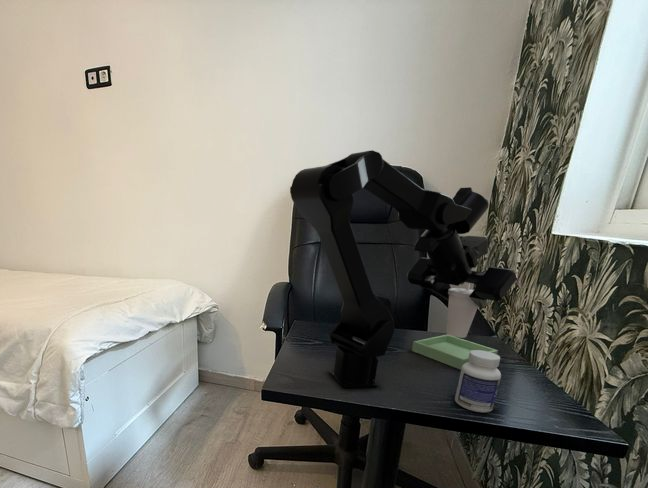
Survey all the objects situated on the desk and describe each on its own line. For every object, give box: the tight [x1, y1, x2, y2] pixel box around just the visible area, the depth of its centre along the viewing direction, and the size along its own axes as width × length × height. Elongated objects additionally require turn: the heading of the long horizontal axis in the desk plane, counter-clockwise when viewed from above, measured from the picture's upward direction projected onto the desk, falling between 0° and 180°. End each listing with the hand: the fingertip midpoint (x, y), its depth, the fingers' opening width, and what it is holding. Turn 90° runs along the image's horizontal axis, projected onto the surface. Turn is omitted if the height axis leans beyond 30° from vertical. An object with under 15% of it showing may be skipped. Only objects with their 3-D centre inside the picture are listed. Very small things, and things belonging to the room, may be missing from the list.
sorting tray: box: [411, 334, 499, 371], centre depth 78 cm, size 12×11×2 cm
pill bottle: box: [454, 350, 502, 413], centre depth 57 cm, size 5×5×9 cm
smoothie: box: [446, 269, 479, 339], centre depth 75 cm, size 6×6×14 cm
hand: (467, 303), depth 76 cm, fingers closed on smoothie, 6 cm apart
